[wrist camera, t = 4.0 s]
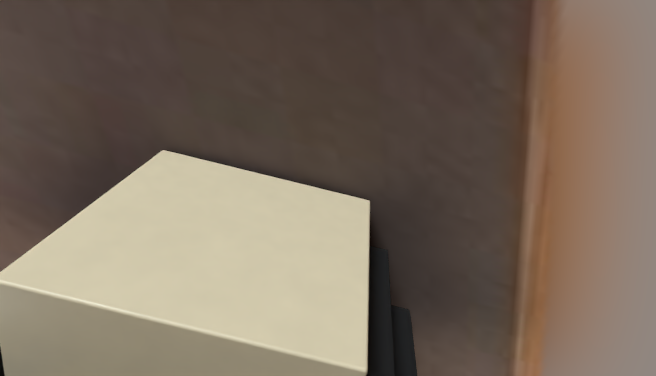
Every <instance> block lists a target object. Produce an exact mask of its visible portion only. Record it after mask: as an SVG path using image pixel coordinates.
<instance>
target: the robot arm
mask: <svg viewBox="0 0 656 376" xmlns="http://www.w3.org/2000/svg"><path fill="white" fill-rule="evenodd" d="M0 376H5V374H4V367H3V361H2V354H1V347H0ZM366 376H417V369H416V360H415V352H414V343H413V334H412V325H411V316H410V312H409V310H408V309H405V308H401V307H397V306H393V305H391V299H390V281H389V262H388V251H387V250H385V249H381V248H377V247H372V246H370V249H369V316H368V372H367V374H366Z"/></svg>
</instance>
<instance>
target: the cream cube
mask: <svg viewBox="0 0 656 376" xmlns="http://www.w3.org/2000/svg"><path fill="white" fill-rule="evenodd" d="M369 249H370V201H369V200H365V199H361V198H357V197H353V196H349V195H345V194H341V193H337V192H333V191H329V190H324V189H320V188H316V187H312V186H308V185H304V184H300V183H296V182H292V181H288V180H284V179H280V178H276V177H271V176H267V175H263V174H259V173H255V172H251V171H247V170H243V169H239V168H235V167H231V166H227V165H223V164H219V163H214V162H210V161H206V160H202V159H198V158H194V157H190V156H186V155H182V154H178V153H174V152H170V151H166V150H162V151H161V152H160V153H158V154H157V155H156V156H154V157H153V158H152V159H150V160H149V161H148V162H146V163H145V164H144V165H142V166H141V167H140V168H138V169H137V170H136V171H134V172H133V173H132V174H130V175H129V176H128V177H126V178H125V179H124V180H122V181H121V182H120V183H118V184H117V185H116V186H114V187H113V188H112V189H110V190H109V191H108V192H106V193H105V194H104V195H102V196H101V197H100V198H98V199H97V200H96V201H94V202H93V203H92V204H90V205H89V206H88V207H86V208H85V209H84V210H82V211H81V212H80V213H78V214H77V215H76V216H74V217H73V218H72V219H70V220H69V221H68V222H66V223H65V224H64V225H62V226H61V227H60V228H58V229H57V230H56V231H54V232H53V233H52V234H50V235H49V236H48V237H46V238H45V239H44V240H42V241H41V242H40V243H38V244H37V245H36V246H34V247H33V248H32V249H30V250H29V251H28V252H27V253H25V254H24V255H23V256H21V257H20V258H19V259H17V260H16V261H15V262H13V263H12V264H11V265H9V266H8V267H7V268H5V269H4V270H3V271H1V272H0V347H1V354H2V361H3V367H4V374H5V376H366V374H367V372H368V316H369Z"/></svg>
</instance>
